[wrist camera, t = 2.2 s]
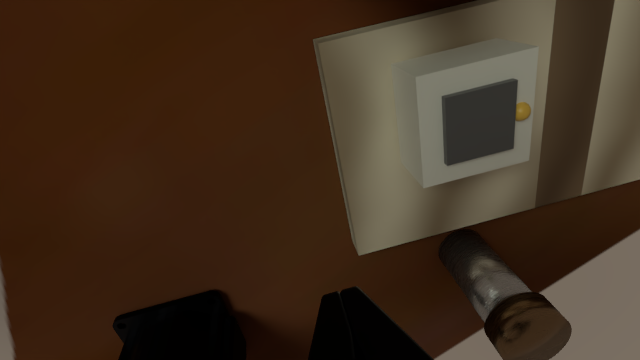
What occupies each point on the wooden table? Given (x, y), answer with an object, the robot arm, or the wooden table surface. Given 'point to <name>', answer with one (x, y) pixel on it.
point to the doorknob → (504, 300)
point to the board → (547, 125)
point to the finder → (465, 109)
